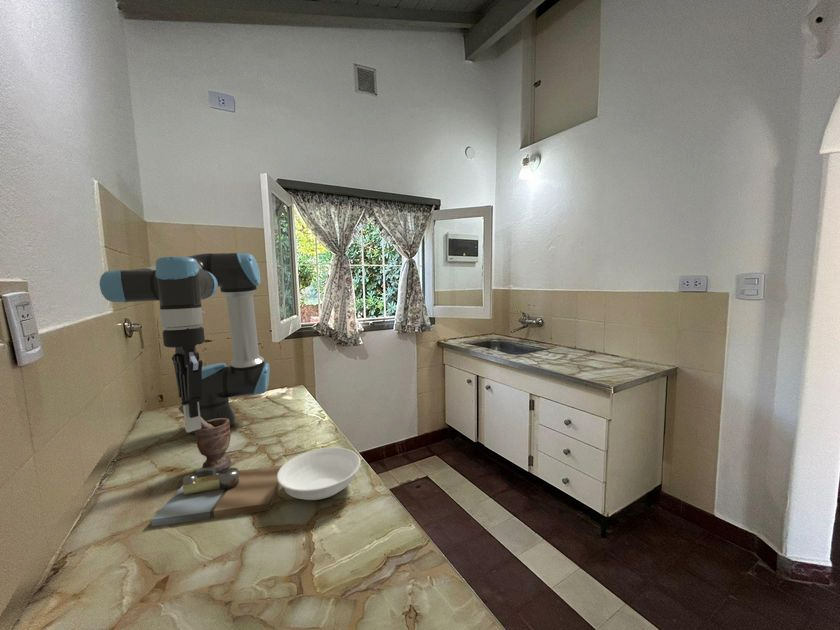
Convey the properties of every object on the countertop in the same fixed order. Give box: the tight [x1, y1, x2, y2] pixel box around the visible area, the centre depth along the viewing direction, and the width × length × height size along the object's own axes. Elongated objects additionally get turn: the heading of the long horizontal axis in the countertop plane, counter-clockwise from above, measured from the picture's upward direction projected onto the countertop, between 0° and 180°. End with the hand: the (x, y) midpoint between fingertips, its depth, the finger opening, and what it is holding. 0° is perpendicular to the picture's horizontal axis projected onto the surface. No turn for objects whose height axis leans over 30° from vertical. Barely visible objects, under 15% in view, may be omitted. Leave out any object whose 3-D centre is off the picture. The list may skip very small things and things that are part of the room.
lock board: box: [150, 464, 284, 527], centre depth 82 cm, size 17×24×5 cm
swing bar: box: [182, 467, 239, 495], centre depth 82 cm, size 12×4×4 cm, turn 106°
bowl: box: [277, 447, 362, 501], centre depth 82 cm, size 20×20×6 cm
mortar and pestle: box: [178, 405, 232, 473], centre depth 94 cm, size 12×9×20 cm
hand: (193, 429), depth 76 cm, fingers closed
